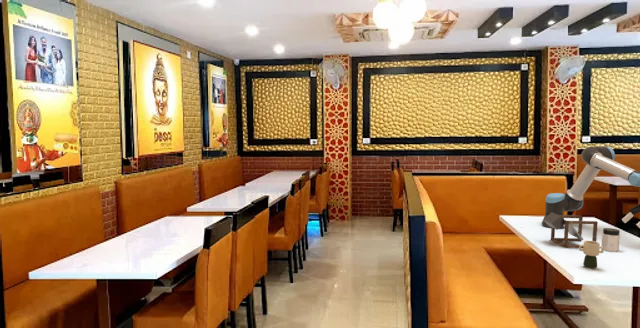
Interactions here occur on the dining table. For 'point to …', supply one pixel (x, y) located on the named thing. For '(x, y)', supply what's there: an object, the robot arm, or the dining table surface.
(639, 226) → the robot arm
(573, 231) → the trapdoor
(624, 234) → the dining table surface
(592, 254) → the character mug
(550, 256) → the dining table surface
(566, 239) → the trapdoor frame
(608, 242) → the jar
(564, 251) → the dining table surface
